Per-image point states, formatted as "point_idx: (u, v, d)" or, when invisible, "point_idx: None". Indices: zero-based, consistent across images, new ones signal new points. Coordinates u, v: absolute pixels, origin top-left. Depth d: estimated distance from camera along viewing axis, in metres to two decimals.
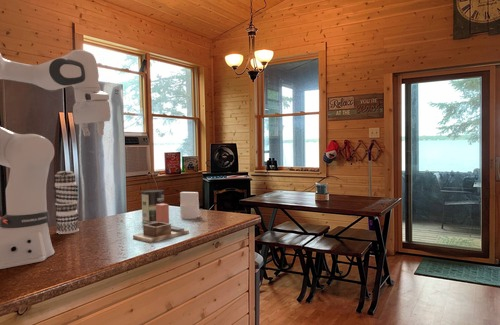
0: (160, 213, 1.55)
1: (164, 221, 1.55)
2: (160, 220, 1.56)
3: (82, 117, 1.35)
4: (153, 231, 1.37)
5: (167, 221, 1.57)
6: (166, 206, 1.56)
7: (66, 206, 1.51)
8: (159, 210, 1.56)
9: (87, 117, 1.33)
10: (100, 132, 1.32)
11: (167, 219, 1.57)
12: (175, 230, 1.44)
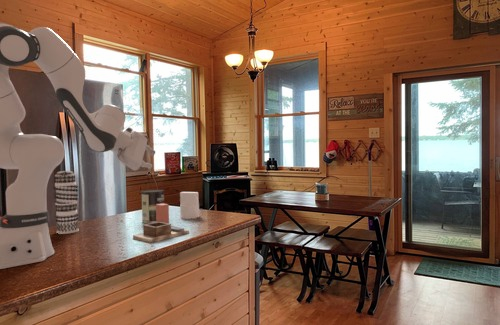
0: (160, 213, 1.55)
1: (164, 221, 1.55)
2: (160, 220, 1.56)
3: (138, 152, 1.43)
4: (153, 231, 1.37)
5: (167, 221, 1.57)
6: (166, 206, 1.56)
7: (66, 206, 1.51)
8: (159, 210, 1.56)
9: (140, 147, 1.47)
10: None
11: (167, 219, 1.57)
12: (175, 230, 1.44)
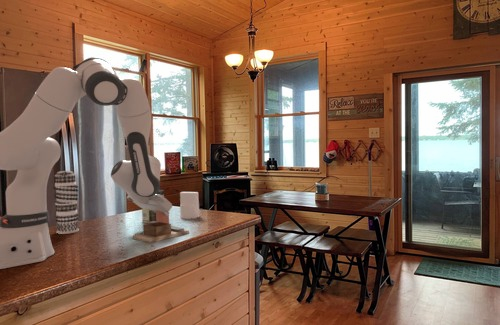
0: (160, 213, 1.55)
1: (164, 221, 1.56)
2: (160, 220, 1.56)
3: None
4: (153, 231, 1.37)
5: (167, 221, 1.57)
6: None
7: (66, 206, 1.51)
8: None
9: None
10: None
11: (167, 219, 1.57)
12: (175, 230, 1.44)
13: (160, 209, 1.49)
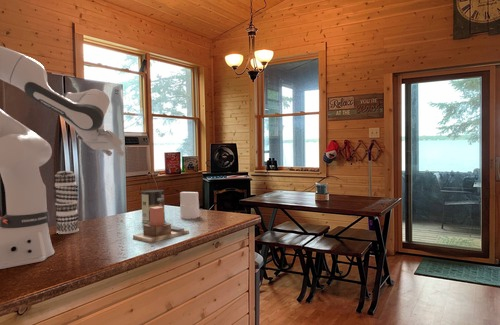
0: (154, 218, 1.40)
1: None
2: (153, 225, 1.40)
3: None
4: (153, 231, 1.37)
5: None
6: (160, 209, 1.41)
7: (66, 206, 1.51)
8: (152, 214, 1.40)
9: None
10: None
11: (161, 224, 1.41)
12: (175, 230, 1.44)
13: (110, 146, 1.43)
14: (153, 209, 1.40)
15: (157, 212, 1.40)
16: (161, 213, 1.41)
